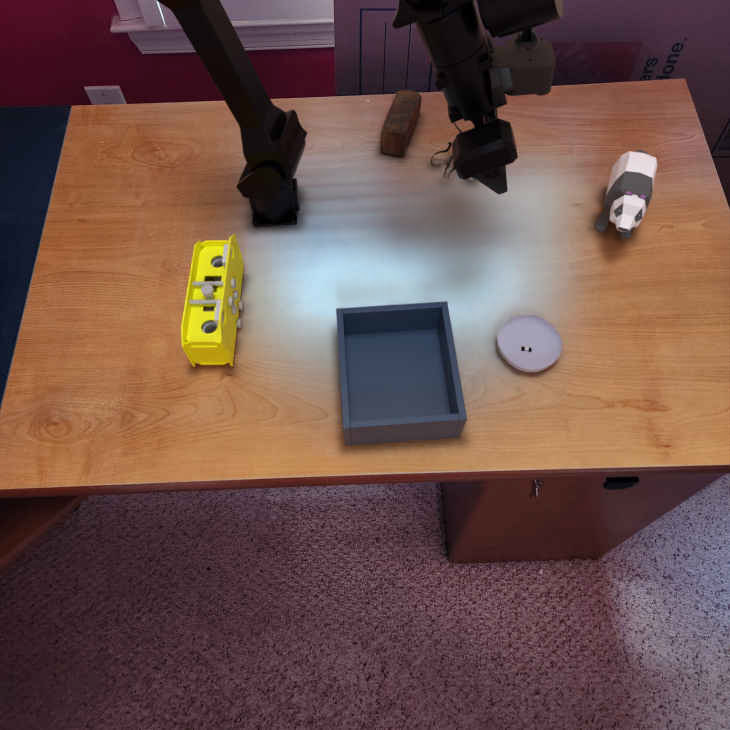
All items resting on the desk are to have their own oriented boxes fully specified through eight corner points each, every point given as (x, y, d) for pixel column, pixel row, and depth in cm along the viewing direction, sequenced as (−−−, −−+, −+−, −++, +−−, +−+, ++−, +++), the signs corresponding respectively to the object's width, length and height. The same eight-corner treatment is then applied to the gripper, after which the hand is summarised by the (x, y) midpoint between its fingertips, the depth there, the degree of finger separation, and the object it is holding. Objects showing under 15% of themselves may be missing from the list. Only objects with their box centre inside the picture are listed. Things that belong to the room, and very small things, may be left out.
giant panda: (603, 184, 87) (628, 131, 78) (641, 193, 86) (670, 141, 77) (585, 256, 80) (610, 207, 72) (625, 267, 80) (655, 219, 71)
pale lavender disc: (557, 381, 71) (561, 374, 70) (492, 371, 72) (495, 364, 70) (558, 326, 75) (563, 319, 73) (497, 318, 76) (499, 310, 74)
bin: (344, 445, 68) (343, 428, 63) (338, 332, 75) (335, 308, 70) (460, 437, 68) (467, 419, 63) (442, 325, 75) (447, 301, 70)
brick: (404, 159, 90) (405, 134, 86) (379, 153, 90) (380, 129, 86) (420, 114, 94) (423, 89, 90) (397, 110, 95) (398, 84, 91)
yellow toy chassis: (237, 369, 73) (222, 334, 65) (192, 369, 73) (172, 335, 65) (248, 267, 80) (236, 225, 73) (207, 267, 80) (191, 226, 73)
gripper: (553, 66, 50) (582, 197, 61) (527, -34, 60) (556, 94, 71) (430, 116, 54) (480, 229, 65) (426, 14, 64) (469, 128, 76)
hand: (499, 166), depth 69 cm, fingers open, 9 cm apart
